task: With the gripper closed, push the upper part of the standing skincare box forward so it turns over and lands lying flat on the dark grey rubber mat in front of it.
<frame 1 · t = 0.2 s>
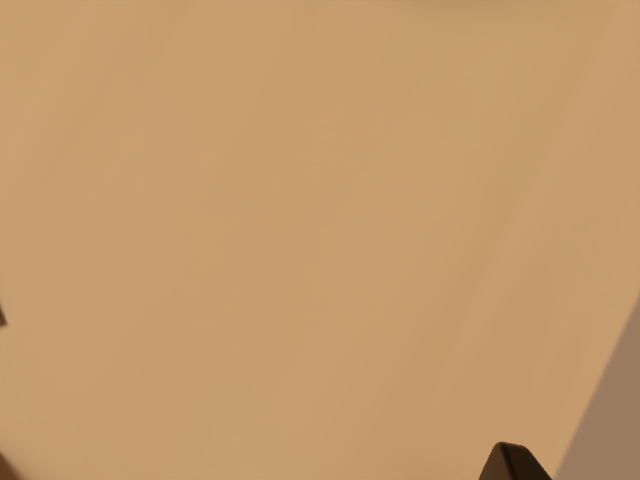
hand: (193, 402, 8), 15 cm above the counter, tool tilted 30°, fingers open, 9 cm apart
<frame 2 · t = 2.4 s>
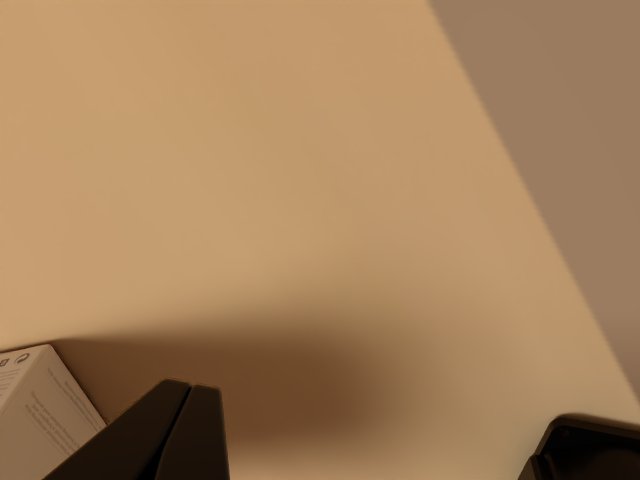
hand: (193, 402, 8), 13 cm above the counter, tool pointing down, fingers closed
skincare box: (52, 410, 28), on the counter
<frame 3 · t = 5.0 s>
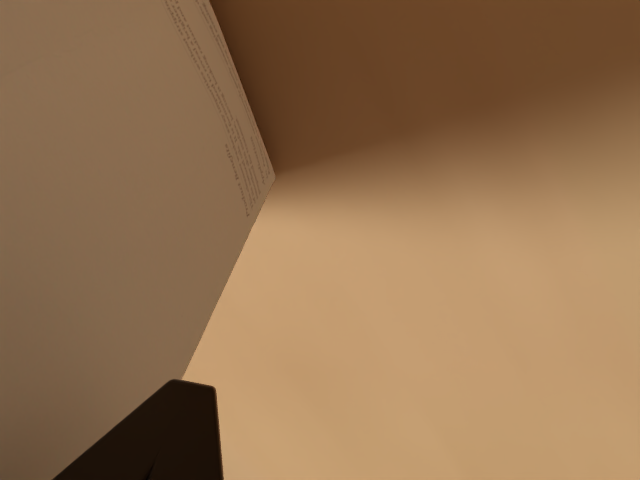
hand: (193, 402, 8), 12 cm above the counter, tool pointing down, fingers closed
skincare box: (169, 92, 19), on the counter, touching gripper, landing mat
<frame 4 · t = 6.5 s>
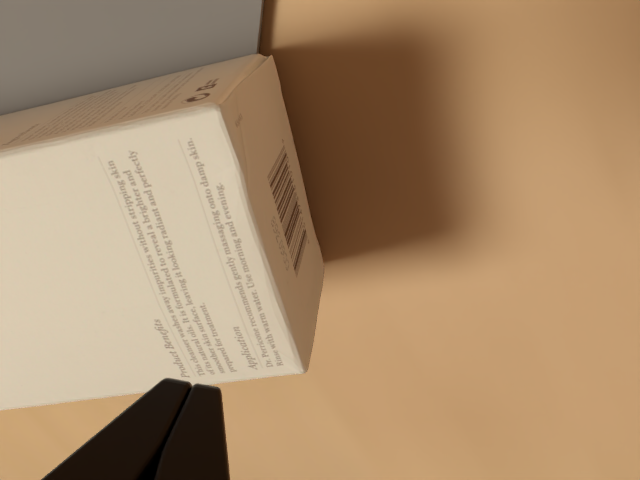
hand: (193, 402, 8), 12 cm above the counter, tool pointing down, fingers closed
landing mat: (12, 75, 19), on the counter
skincare box: (299, 215, 17), point 3 cm above the counter, touching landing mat
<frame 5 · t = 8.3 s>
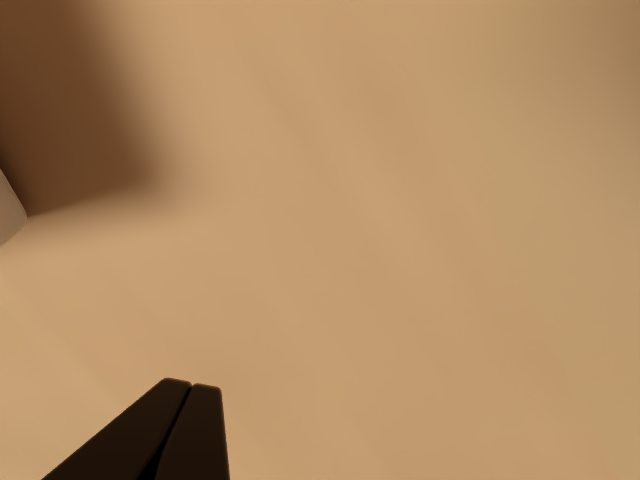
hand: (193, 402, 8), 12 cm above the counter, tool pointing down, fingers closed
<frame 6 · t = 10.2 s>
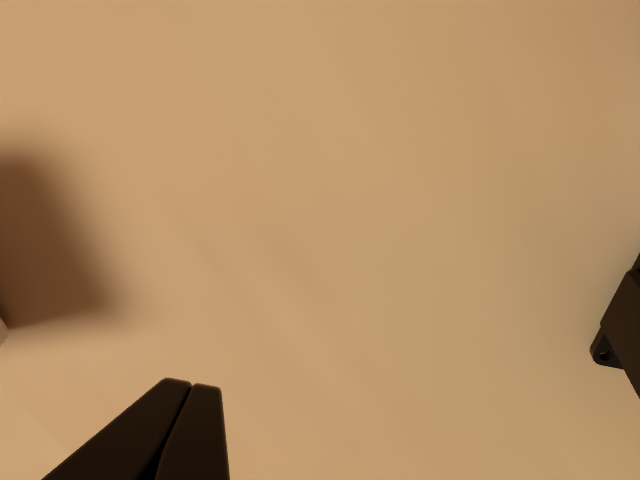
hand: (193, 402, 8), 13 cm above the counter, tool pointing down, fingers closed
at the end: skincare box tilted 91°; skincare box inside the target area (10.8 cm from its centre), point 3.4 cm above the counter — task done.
